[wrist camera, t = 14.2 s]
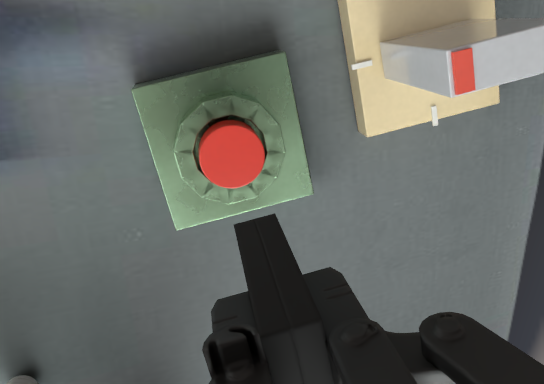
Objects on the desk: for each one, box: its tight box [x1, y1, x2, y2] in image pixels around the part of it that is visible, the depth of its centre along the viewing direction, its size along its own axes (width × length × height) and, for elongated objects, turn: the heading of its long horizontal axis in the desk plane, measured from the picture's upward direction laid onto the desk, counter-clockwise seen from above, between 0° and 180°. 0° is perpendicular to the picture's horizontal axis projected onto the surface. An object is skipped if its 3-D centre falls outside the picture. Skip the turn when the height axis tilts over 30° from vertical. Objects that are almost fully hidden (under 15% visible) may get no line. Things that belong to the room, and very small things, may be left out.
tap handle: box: [380, 18, 544, 98], centre depth 28 cm, size 6×2×9 cm, turn 103°
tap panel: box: [338, 0, 500, 137], centre depth 34 cm, size 11×11×2 cm
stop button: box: [199, 120, 265, 188], centre depth 30 cm, size 4×4×2 cm
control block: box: [131, 50, 314, 230], centre depth 33 cm, size 10×10×4 cm
